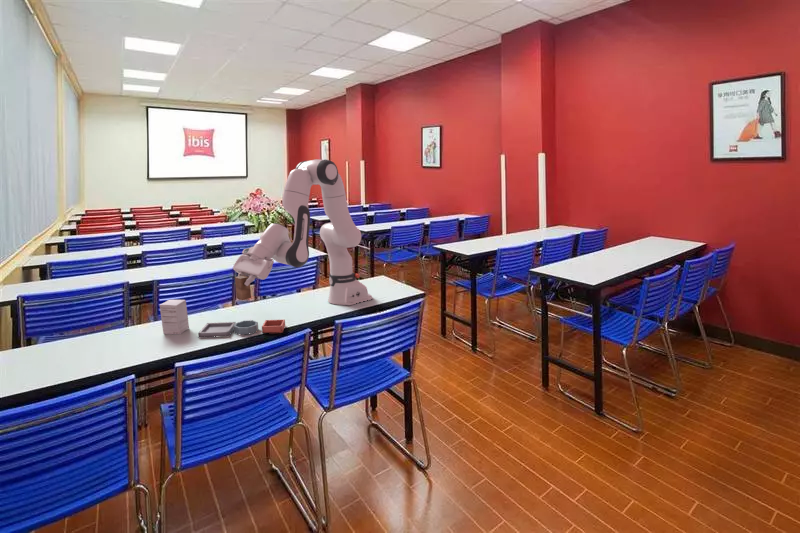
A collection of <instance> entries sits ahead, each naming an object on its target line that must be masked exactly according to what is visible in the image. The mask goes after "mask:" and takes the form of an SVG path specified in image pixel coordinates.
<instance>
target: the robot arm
mask: <svg viewBox="0 0 800 533" xmlns="http://www.w3.org/2000/svg"><path fill="white" fill-rule="evenodd" d="M314 185H315V186H316V185H319V186H320V189H321V190H320V191H321V198H322V203H323V209H324V210H323V211H324V213H325V215H326V217H327V218H328V219H329V220H330V222H325V223H324V224H322V225H321V227H320V229H319V236H320V238H321V240H322V241H323V243H324V246H325V248H326V251H327V254H328V259H329V277H328V278H329V279H328V280H329V285H330V286H329V295H328V299H327V302H328V303H330V304H333V305H338V306H339V305H340V306H341V305H344V306H353V305H357V304H360V303H359V302H361V303H364V302H363V301H365V302H368V301H371V299H372V298H373V296H372V295H371V294H370V293H369V292H368V288H367V286H366V285H365V284H363V283H362V282H360V281H359V280H357V279H360V277H361V275H360V274H359V273H355V272H353V257H352V255H351V253H349V251H348V248H355V247H357V246H358V245H359V244H360V243H361V240H362V233H361V232H362V231H360V229H359V228H358V227H357V226H356V224H355V222H354V221H353V218H352V216H351V214H350V210H349V207H348V201H347V195H346V189H345V185H344V181H343V179H342V176H341V175H340V173H339V169H338V166H337V164H336V163H335V162H334V161H332V160H330V159H318V158H317V159H316V158H315V159H312V160H303V161H300V162H299V163H298V164H297V165H296V166H295V168H294V169H292V170H291V171H289V174H288V176H287V178H286V181H285V186H284V189H283V194H282V202H281V203H282V207H283V209H284V210H285V211H286V212H287V213H288V214H289V215H291V217H292V218H293V220H294V231H293V232H294V233H293V241H291V239H290V237H289V229H288V228H287V227H286V226H284V225H282V224H280V223H277V222H276V223H275V222H274V223H271V224H269V225H268V226H267V227H266V229H265V230H264V231H263V232H262V233H261V235H260V237H259V239H258V241H257V242H256V243H255V244H254V245H253V246H250V247H248V248H244V249H243V250H242V252H241V255H240V256H239V257H238V258H237V259H236V261H235V263H234V264H233V265H232V270H234V271H235V272H236V273H238V275H237V277H238V276H242V275H245V276H249V278H248V279H247V280H245V281H244V282H243V284H244V285H245V286H248V285H249V284H250V285H251V283H253V282H254V281H255V280H256V279H259V280H266V279H267V278H268V276H269V275H270V274H271V271H272V269H273V264H274V261H275V262H276V263H280V264H284V265H287V266H291V267H294V268H302V267H303V266H305V265H306V263H307V262H308V260H309V257H310V251H309V238H310V225H311V211H310V209H309V208H310V207H309V201H310V195H311V188H312V186H314ZM367 300H368V301H367ZM372 300H373V299H372ZM356 303H357V304H356Z"/></svg>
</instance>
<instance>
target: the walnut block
mask: <svg viewBox="0 0 800 533" xmlns="http://www.w3.org/2000/svg"><path fill="white" fill-rule="evenodd" d="M248 278H249V276H247V275H242V276H238V275H237V276H234V282H235V291H236V299H237V300H240V301H245V300H250V299H252V292H251V291H252V290H251V283H250V284H249V285H248V286H245V285H244V284H243V282H244V281H245V280H247V279H248Z"/></svg>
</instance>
